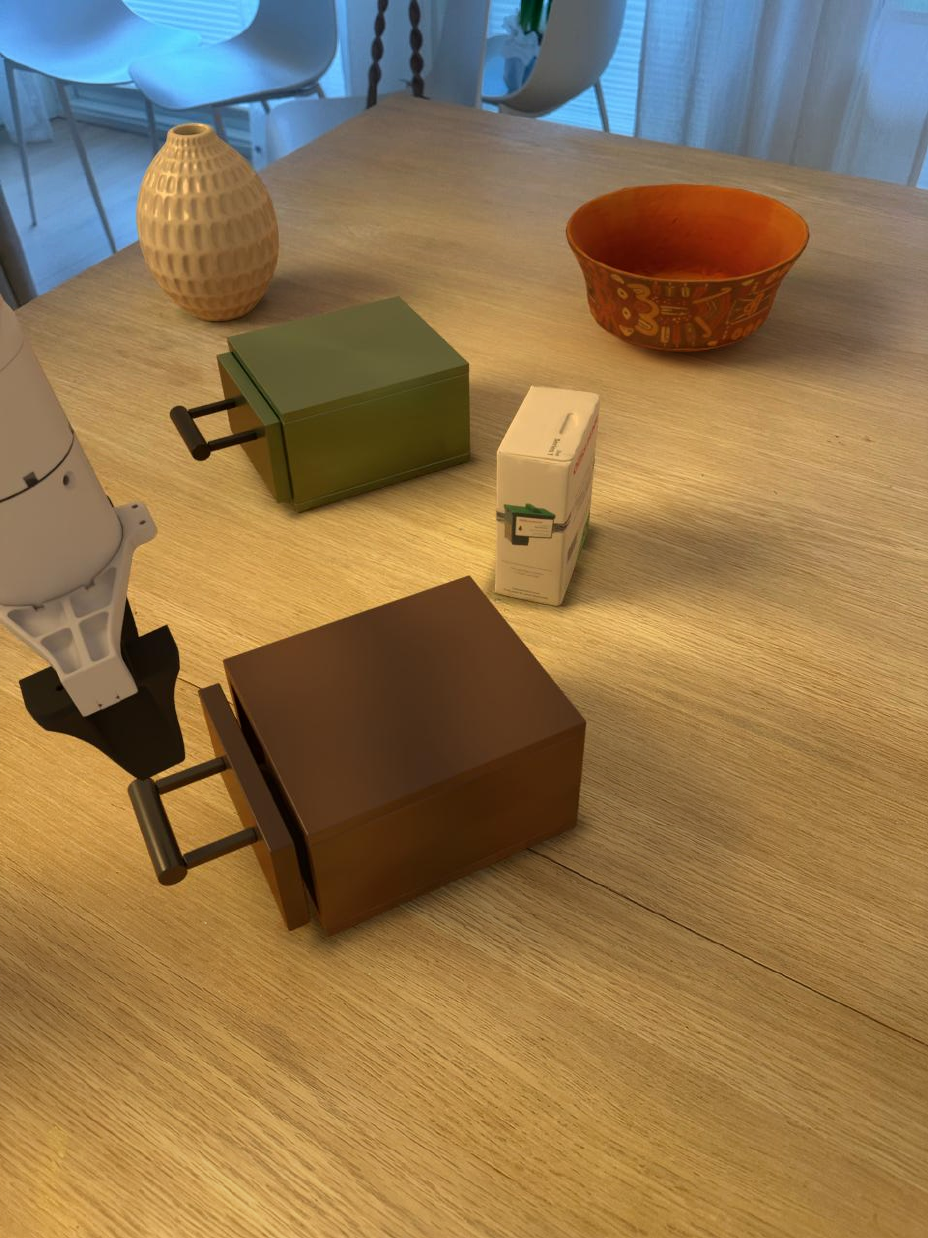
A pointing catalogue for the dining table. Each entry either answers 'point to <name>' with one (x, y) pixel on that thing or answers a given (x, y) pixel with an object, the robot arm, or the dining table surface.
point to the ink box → (544, 493)
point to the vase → (207, 225)
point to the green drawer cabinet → (360, 398)
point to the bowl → (684, 262)
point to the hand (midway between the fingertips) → (138, 707)
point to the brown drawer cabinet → (408, 747)
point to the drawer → (241, 427)
